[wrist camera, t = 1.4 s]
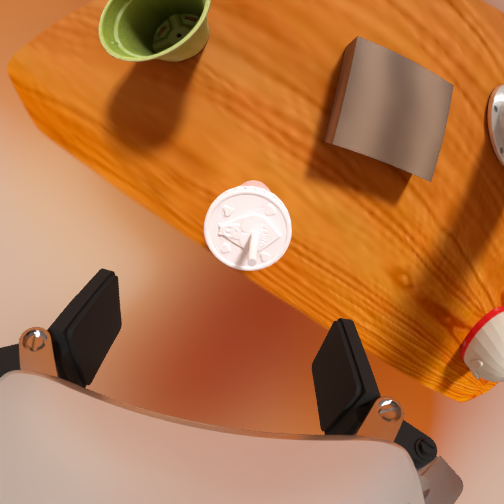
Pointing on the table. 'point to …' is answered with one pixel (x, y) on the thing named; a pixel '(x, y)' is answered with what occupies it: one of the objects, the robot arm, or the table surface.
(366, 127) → the plinth
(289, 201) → the table surface
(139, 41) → the plant pot
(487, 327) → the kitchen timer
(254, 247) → the smoothie
